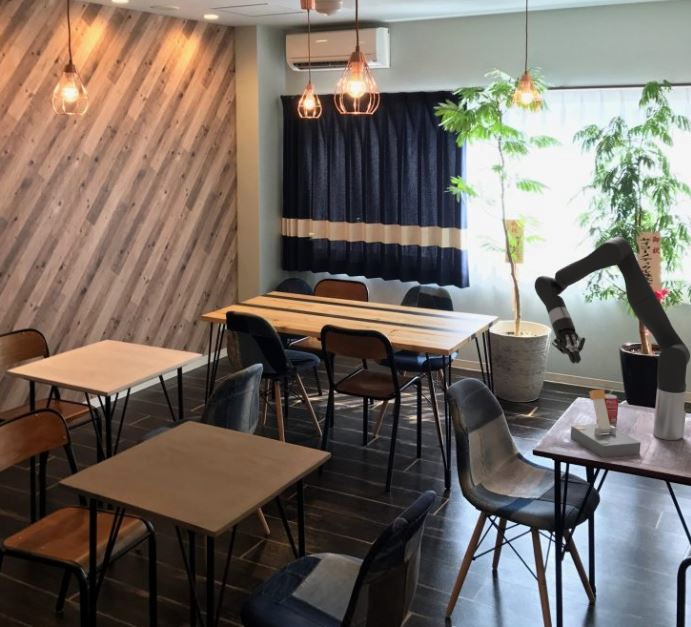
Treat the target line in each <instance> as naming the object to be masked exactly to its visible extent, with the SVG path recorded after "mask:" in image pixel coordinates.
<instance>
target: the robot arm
mask: <svg viewBox="0 0 691 627" xmlns="http://www.w3.org/2000/svg"><path fill="white" fill-rule="evenodd" d="M615 266H617V268H618V270H619V271H620V273H621V275H622V278H623V280H624V285H625V292H626V298H627V302H628V304H629V306H630V308H631V309H632V311H633V313H634V315H635V316H636V317H637V319H638V321H639V322H640V323H641V324H642V325H643V326H644V327H645V328H646V330H647V331H648V332H650V334H651V335H652V337H653V338H654V340H655V341H656V343H657V346H658V348H659V351H660V353H659V355H658V361H657V371H656V372H657V376H656V381H657V387H656V388H657V389H656V398H655V409H654V421H653V431H652V435H653V437H656V438H658V439H661V440H666V441H678V440H680V439H682V438H684V437H685V436H684V435H685V434H684V433H685V427H686V426H685V424H686V416H687V412H686V411H685V398H686V390H687V383H686V376H687V366H688V364H689V362H690V360H691V359H690V358H691V352H690V350H689V348H688V346H687V345H686V344H685V343H684V341H683V340H682V339H681V338H680V336H679V334H678V333H677V332H676V330H675V328H674V327H673V325H672V324H671V321H670V319H669V317H668V315H667V313H666V311H665V309H664V307H663V304H662V303H661V301H660V300H659V297H658V296H657V295H656V293H655V291H654V289H653V288H652V286H651V284H650V283H649V281H648V279H647V277H646V275H645V274H644V272H643V270H642V268H641V266H640V264H639V261H638V259H637V257H636V255H635V252H634V249H633V248H632V246H631V244H630V242H628V240H627V239H625V238H624V237H621V236H616V237H612V238H610V239H607V240H605V241H604V242H602V244H600V245H599V246H597V247H596V249H594V250H593V251H592V252H590V253H589V254H588V255H586V256H585V257H583V258H581V259H578V260H576V261H574V262H571V263H570V264H567V265H566V266H563V267H562V268H560V269H559V270H557V271H556V272H555V274H554V277H550V276H548V275H547V276H546V275H541V276H538V277H537V278H536V279H535V281H534V290H535V293H536V295H537V296H538V298H539V299H540V300H541V302H542V304H543V305H544V306H545V309H546V311H547V314H548V318H549V322H550V324H551V327H552V330H553V334H554V335H555V339H553V341H552V342H551V345H552V346H553V347H554V348H556V349H557V350H558V351H559V352H560V353H562V354H563V355H565V354H566V355H567V356H568V358H569V360H570V361H569V362H570V363H571V364H573V365H574V364H579V363H580V362H581V360H582V357H581V356H580V353H581V352H582V351H583V349H584V345H585V342H586V338H585V337H580V336H579V334H578V333H577V332H576V327H575V324H574V322H573V320H572V317H571V314H570V313H569V311H568V308H567V306H566V302H565V301H564V299H563V297H561V296H560V295H561V294H562V293H563V292H564V291H565V290H566V289H567V288H568V287H570V286H572V285H574V284H575V283H578V282H579V281H581V280H583V279H585V278H586V277H587V276H589V275H590V274H593V273H595V272H598V271H599V270H604V269H607V268H611V267H615Z"/></svg>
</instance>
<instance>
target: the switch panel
mask: <svg viewBox="0 0 691 627" xmlns="http://www.w3.org/2000/svg"><path fill="white" fill-rule="evenodd" d="M610 427H611V433H601V430H602V429H601V428H599V427H598V424H597V423H593V424H581V425H571V427H570V438H571V439H573V440H575V441H576V442H578V443H579V444H580V445H582V446H584V447H585V448H587V449H588V450H590V451H591V452H593V453H594V454H596V455H598V456H599V457H601V458H602V457H603V458H613V457H620V456H621V457H622V456H623V457H624V456H632V455H633V456H634V455H640V454H641V445H642V444H641V442H640V441H639V440H637V439H635V438H633V437H631V436H630V435H628V434H626V433H625V432H623V431H622V430H619V429H618V428H617V426H616V427H614V426H611V425H610Z"/></svg>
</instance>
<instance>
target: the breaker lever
mask: <svg viewBox="0 0 691 627" xmlns="http://www.w3.org/2000/svg"><path fill="white" fill-rule="evenodd" d="M588 394H589V397H590V401H592V402H593V409H594V413H595V415H596V416H595V417H596V423H597V422H598V427H599V428H601V429H602V430H601V433H611V427H610V423H609V418H608V414H607V409H606V405H605V400H604V399H605V398H606V396H605V394H606V393H605V389H592V390H590V391H589V393H588Z"/></svg>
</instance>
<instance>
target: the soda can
mask: <svg viewBox="0 0 691 627" xmlns="http://www.w3.org/2000/svg"><path fill="white" fill-rule="evenodd" d="M605 396H606V398H605V399H604V400H605V405H606V409H607V414H608V418H609V423H610V425H611V426H614V427H616V428H617V422H618V414H619V400H618V396H617V395H615V394H612V393H605ZM596 424H598V422H597V421H596Z"/></svg>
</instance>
